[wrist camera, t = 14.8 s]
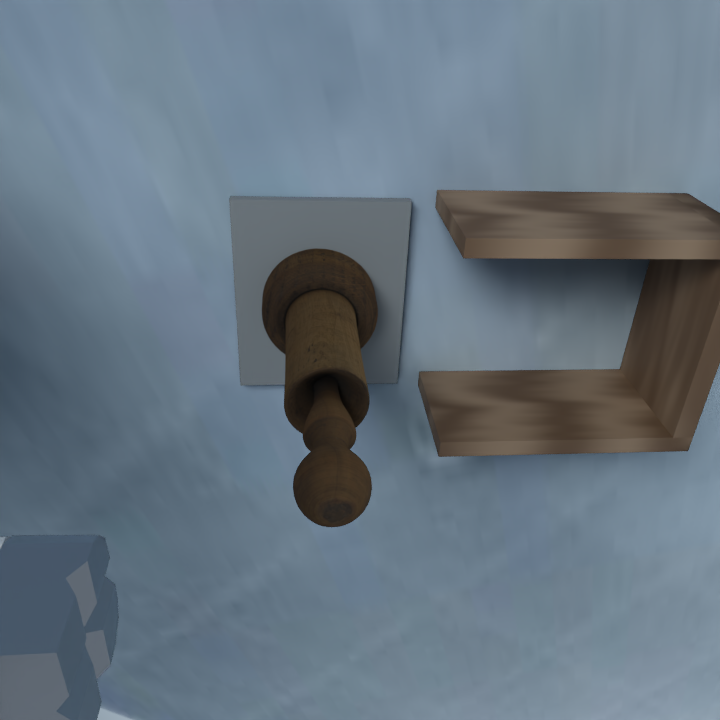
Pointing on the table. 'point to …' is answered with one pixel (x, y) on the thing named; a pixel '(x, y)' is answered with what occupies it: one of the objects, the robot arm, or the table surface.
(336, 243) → the grey rubber mat
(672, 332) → the walnut bay
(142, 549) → the table surface
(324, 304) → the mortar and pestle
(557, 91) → the table surface
